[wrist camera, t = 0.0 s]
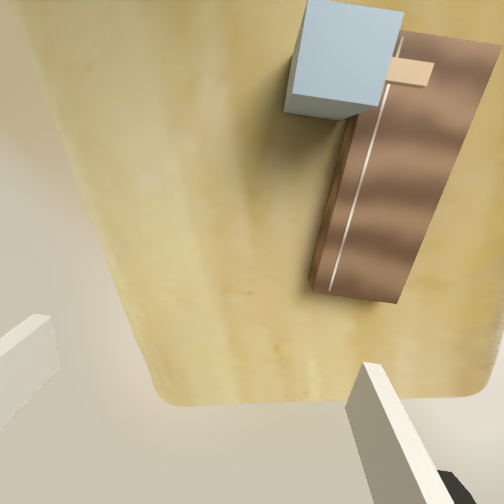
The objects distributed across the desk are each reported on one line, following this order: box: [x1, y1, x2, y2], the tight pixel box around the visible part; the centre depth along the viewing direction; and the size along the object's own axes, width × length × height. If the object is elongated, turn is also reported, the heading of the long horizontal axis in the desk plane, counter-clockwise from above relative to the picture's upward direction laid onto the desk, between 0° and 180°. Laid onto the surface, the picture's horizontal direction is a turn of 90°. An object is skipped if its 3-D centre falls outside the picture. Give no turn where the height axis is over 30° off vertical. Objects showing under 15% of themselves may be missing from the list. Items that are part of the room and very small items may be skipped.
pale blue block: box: [283, 0, 434, 120], centre depth 25 cm, size 6×11×12 cm, turn 82°
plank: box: [308, 30, 503, 304], centre depth 33 cm, size 30×12×4 cm, turn 172°
